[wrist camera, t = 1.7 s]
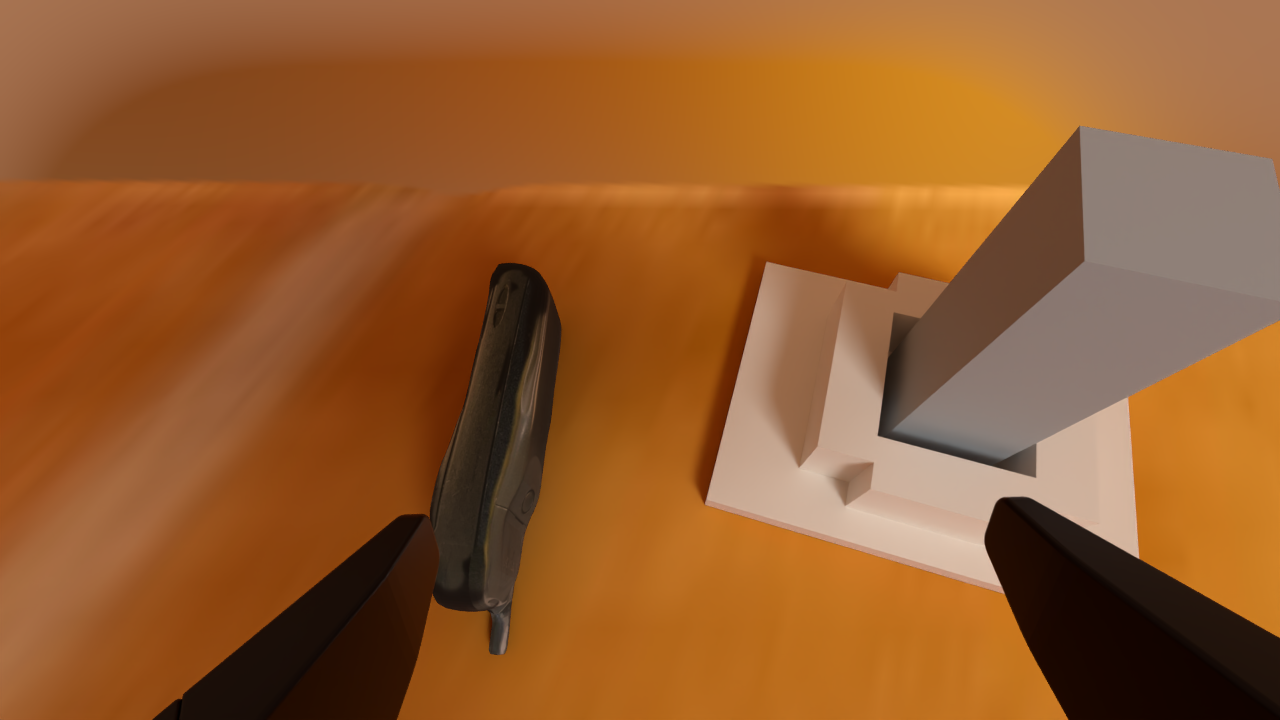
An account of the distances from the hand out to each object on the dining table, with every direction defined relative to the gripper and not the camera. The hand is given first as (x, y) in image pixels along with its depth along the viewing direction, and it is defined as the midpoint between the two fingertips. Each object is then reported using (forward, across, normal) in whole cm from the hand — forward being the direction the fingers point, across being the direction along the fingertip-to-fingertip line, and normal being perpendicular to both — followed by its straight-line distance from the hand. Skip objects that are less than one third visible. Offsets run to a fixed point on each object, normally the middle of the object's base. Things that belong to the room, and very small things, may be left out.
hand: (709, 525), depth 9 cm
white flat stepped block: (+14, -11, +8) cm, 19 cm away
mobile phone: (+13, +7, +9) cm, 17 cm away
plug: (+13, -11, +7) cm, 18 cm away
